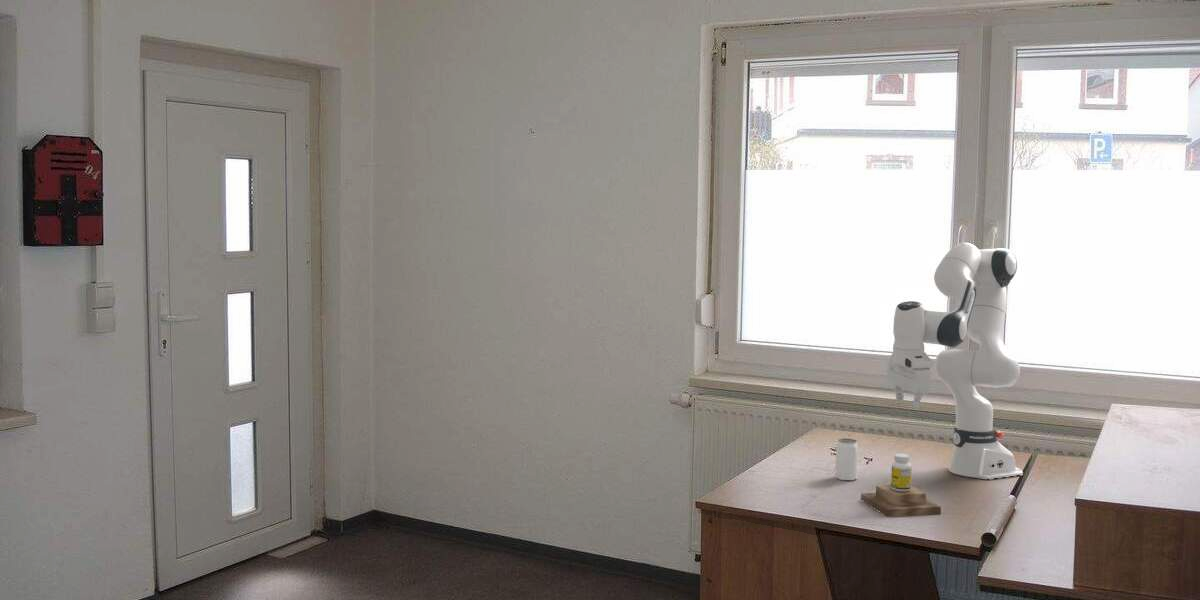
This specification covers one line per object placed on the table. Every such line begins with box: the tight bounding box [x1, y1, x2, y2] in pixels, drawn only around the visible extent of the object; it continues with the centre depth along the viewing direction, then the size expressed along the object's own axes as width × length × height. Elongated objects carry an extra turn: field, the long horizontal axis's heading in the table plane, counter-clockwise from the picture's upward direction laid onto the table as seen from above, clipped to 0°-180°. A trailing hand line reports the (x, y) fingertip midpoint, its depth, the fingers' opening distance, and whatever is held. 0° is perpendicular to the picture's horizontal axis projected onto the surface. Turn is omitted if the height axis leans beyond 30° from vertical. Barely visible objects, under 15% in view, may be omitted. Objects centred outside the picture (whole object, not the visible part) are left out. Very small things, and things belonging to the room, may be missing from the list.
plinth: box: [860, 484, 942, 517], centre depth 293 cm, size 16×16×5 cm
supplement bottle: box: [890, 453, 913, 492], centre depth 292 cm, size 5×5×10 cm
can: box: [835, 438, 859, 481], centre depth 323 cm, size 6×6×12 cm
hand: (907, 403), depth 307 cm, fingers open, 8 cm apart
